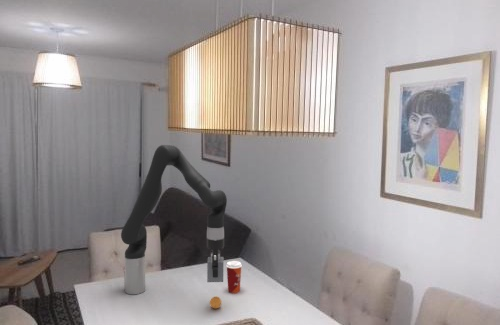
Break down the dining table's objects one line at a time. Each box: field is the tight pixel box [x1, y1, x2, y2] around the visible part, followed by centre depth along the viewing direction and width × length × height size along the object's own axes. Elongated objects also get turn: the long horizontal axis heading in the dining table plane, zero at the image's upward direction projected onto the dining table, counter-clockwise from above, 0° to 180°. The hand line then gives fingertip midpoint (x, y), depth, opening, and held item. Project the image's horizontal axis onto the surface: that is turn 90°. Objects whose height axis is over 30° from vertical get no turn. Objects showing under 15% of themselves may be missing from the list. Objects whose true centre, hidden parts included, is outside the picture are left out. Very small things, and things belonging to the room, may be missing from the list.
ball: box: [209, 296, 222, 309], centre depth 173 cm, size 5×5×5 cm
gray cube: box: [206, 256, 224, 283], centre depth 171 cm, size 7×7×9 cm
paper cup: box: [225, 260, 243, 294], centre depth 191 cm, size 8×8×14 cm
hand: (215, 273), depth 172 cm, fingers closed on gray cube, 7 cm apart
